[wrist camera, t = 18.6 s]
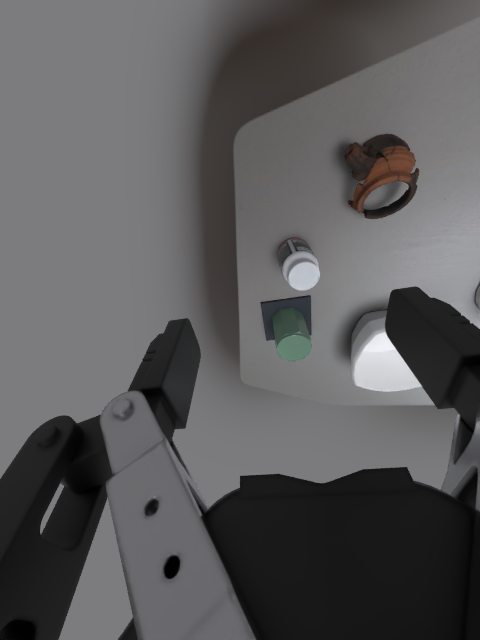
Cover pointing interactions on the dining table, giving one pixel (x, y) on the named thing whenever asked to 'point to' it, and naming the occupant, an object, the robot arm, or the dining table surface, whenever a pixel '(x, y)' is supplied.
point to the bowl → (378, 357)
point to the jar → (478, 297)
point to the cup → (291, 334)
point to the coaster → (273, 307)
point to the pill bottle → (298, 264)
